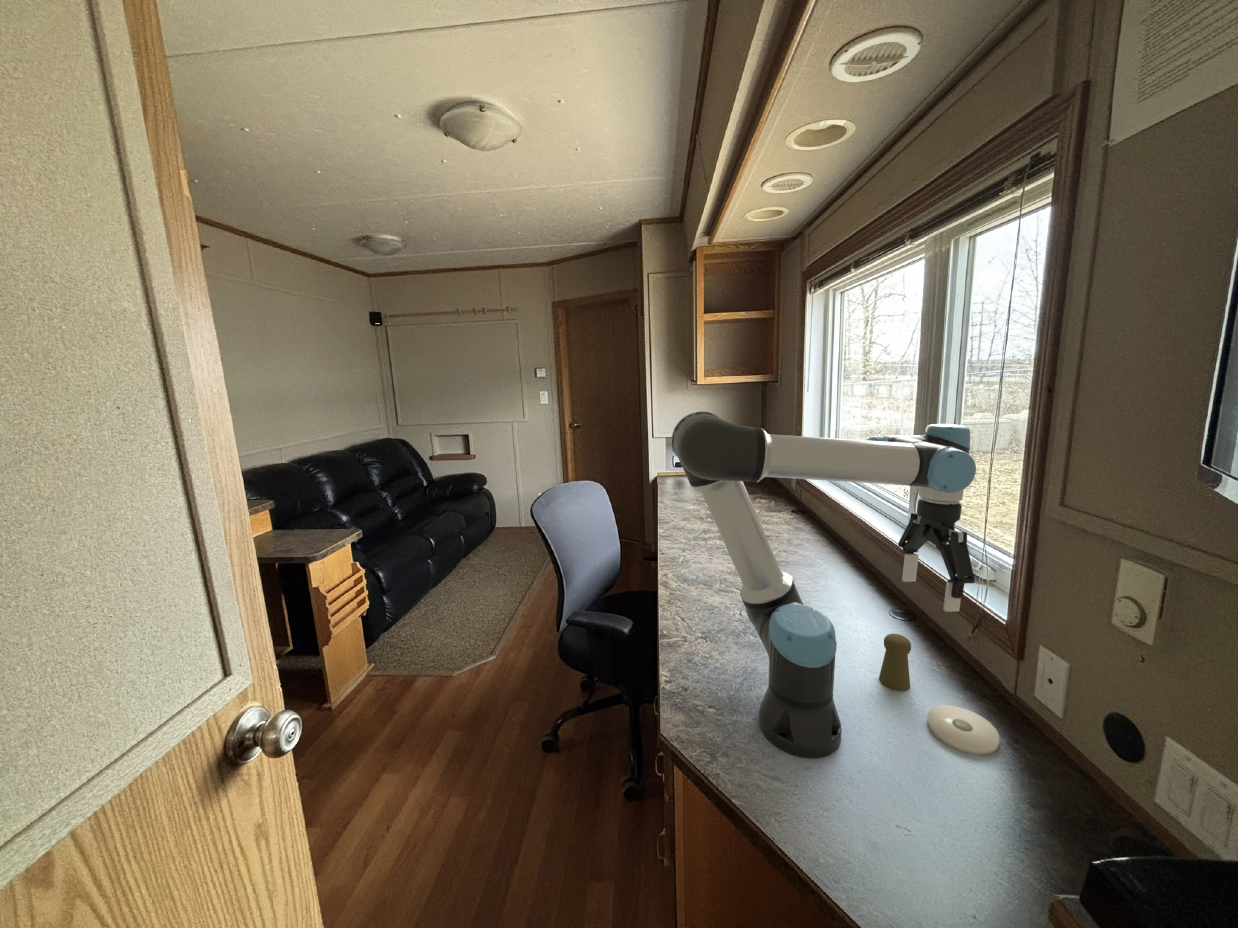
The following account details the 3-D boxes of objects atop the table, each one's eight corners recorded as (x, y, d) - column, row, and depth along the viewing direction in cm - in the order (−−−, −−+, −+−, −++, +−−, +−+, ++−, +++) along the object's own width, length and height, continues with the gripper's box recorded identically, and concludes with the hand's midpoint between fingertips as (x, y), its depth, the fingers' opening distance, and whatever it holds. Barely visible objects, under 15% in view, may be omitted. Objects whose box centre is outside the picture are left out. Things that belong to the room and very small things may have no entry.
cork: (881, 670, 108) (884, 626, 106) (912, 680, 104) (916, 635, 102) (876, 684, 104) (879, 638, 102) (907, 694, 100) (911, 648, 98)
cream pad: (953, 756, 84) (954, 749, 84) (914, 712, 95) (915, 706, 94) (1014, 753, 84) (1015, 746, 84) (968, 710, 95) (969, 703, 95)
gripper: (1008, 517, 84) (992, 625, 88) (918, 484, 109) (909, 570, 113) (967, 518, 84) (952, 626, 88) (886, 485, 109) (878, 571, 113)
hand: (928, 594), depth 101 cm, fingers open, 13 cm apart
